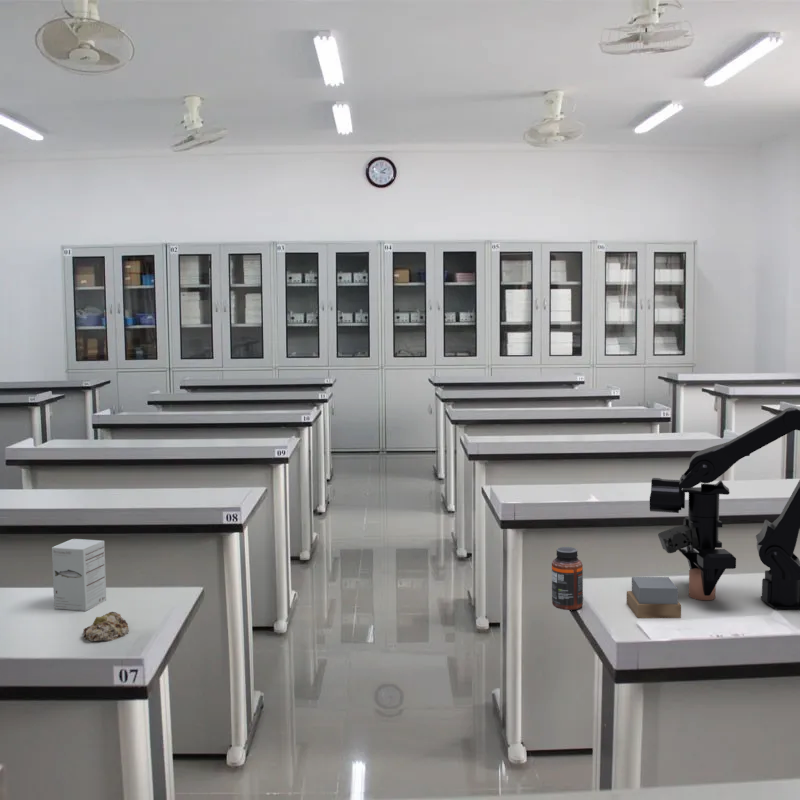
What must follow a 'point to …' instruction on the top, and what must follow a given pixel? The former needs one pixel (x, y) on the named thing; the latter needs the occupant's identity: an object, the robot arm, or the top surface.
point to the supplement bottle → (567, 579)
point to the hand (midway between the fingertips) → (702, 591)
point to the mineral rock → (106, 628)
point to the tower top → (654, 590)
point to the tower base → (653, 609)
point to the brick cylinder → (698, 586)
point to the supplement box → (79, 574)
